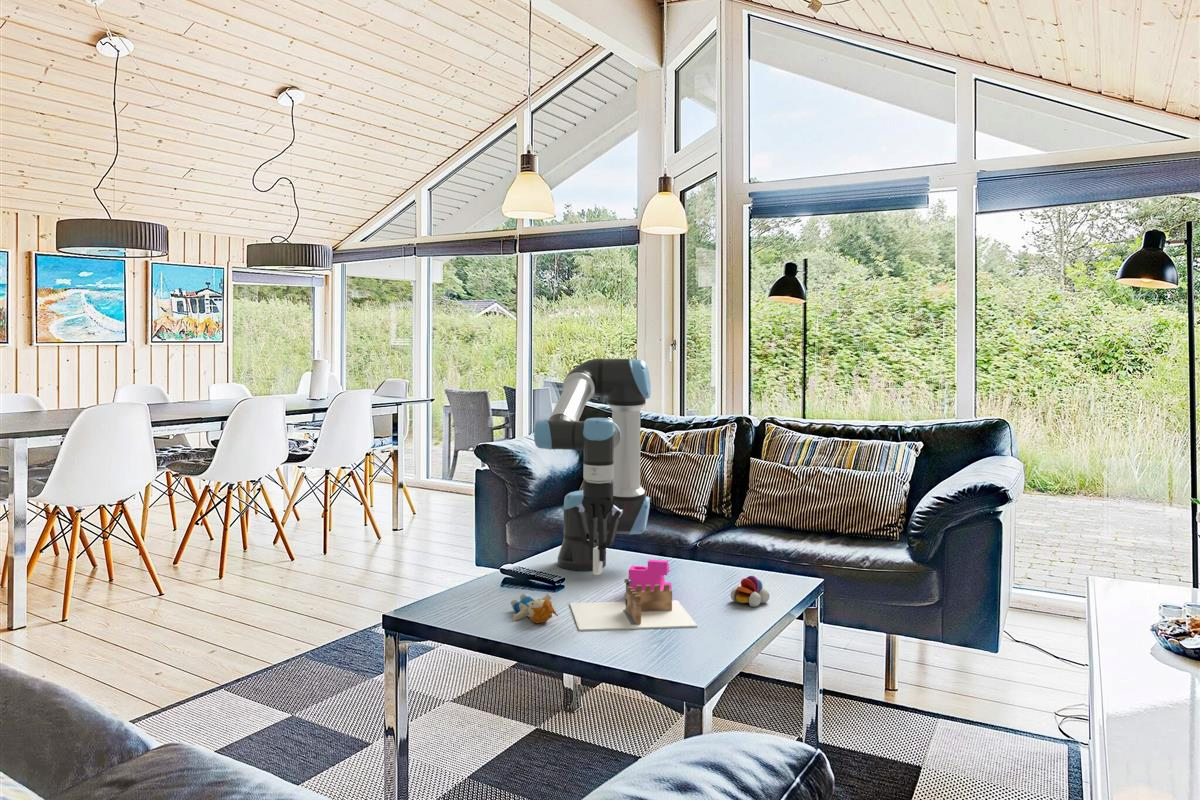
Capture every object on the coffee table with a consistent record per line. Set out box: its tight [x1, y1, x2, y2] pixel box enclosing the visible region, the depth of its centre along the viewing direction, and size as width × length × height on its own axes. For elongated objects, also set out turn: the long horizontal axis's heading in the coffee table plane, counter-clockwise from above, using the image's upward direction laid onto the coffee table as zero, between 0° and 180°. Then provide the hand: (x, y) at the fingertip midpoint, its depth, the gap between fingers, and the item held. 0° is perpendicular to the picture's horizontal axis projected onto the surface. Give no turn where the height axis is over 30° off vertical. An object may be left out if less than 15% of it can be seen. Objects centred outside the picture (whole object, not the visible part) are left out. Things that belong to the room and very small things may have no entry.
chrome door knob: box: [624, 578, 632, 595], centre depth 219 cm, size 2×2×8 cm
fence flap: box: [624, 587, 641, 624], centre depth 213 cm, size 10×2×7 cm, turn 12°
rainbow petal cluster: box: [730, 575, 770, 608], centre depth 229 cm, size 8×10×7 cm
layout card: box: [569, 599, 698, 632], centre depth 217 cm, size 21×29×1 cm
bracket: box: [628, 559, 673, 591], centre depth 235 cm, size 12×10×10 cm
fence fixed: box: [636, 584, 673, 611], centre depth 220 cm, size 10×1×7 cm, turn 98°
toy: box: [510, 592, 559, 624], centre depth 214 cm, size 12×6×15 cm
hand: (597, 573), depth 215 cm, fingers closed
